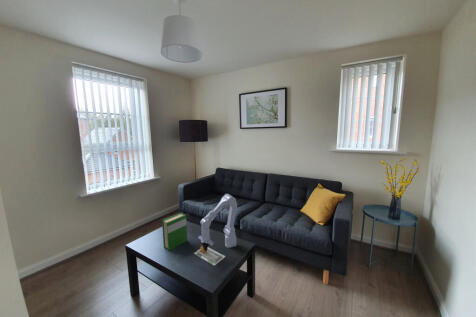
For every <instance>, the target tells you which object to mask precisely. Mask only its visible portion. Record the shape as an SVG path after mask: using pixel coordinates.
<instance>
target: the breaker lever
mask: <svg viewBox="0 0 476 317" xmlns="http://www.w3.org/2000/svg"><path fill="white" fill-rule="evenodd" d="M200 250H201V253H205V252H206V251H207V250H206V251H205V250H204V247H203V245H202V244H201V246H200Z"/></svg>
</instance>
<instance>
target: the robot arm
mask: <svg viewBox="0 0 476 317" xmlns="http://www.w3.org/2000/svg"><path fill="white" fill-rule="evenodd" d="M226 206H229V210H228V211H229V212H228V217H227V222H226V224H225V225H224V228H223V233H224V245H225V247H226V248H233V247H236V246H238V244H237V235H236V229H235V220H236V215H237V210H238V209H237V208H238V204H237V199H236V198H235V197H234V196H233V195H231V194H229V193H225V194H224V195H223V196H222V197H221V199H220V201H219V202H218V204H217V205H216V206H215V207H214V208H213V210H210V211H209V212H208V213H207V214H206V215H205V216H204V217H203V218H202V219H201V220H200V222H199V223H200V226H201V235H199V236H198V237H197V239H198V240H200V243H201V246H202V245H203V247H204V250H205V251H206V250H207V248H208V247H209V245H210V247H211V246H214V241H213V240H211V238H210V227H211V223H212V222H213V220H214V219H215V218H217V214H218V212H220V210H221V209H222V208H224V207H226Z"/></svg>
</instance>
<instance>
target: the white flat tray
mask: <svg viewBox="0 0 476 317" xmlns="http://www.w3.org/2000/svg"><path fill="white" fill-rule="evenodd" d="M193 254H194V255H196V256H198V257H199V258H201V259H202V260H205V261H206V262H208V263H209V264H211V265H213V267H214V266H216V265H217V264H218V263H220V262H221V261H222V260H224V258H226V255H224V254H221V253H219V252H218V251H216V250H214V249H212V248H211V247H209V246H208V248H207V251H206V252H205V253H201V250H200V249H198V250H197V251H195V252H193Z"/></svg>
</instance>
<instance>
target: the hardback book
mask: <svg viewBox="0 0 476 317" xmlns="http://www.w3.org/2000/svg"><path fill="white" fill-rule="evenodd" d="M161 223H162V224H161V225H162V240H163V249H165V248H166V249H167V250H168V252H170V251H172V250H174V249H176V248H178V247H179V246H181V245H183V244H184V243H186V242H188V229H187V228H188V227H187V214H185V213H182V212H179V213H176V214H174V215H171V216H169V217H166V218H164V219H162V220H161Z"/></svg>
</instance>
